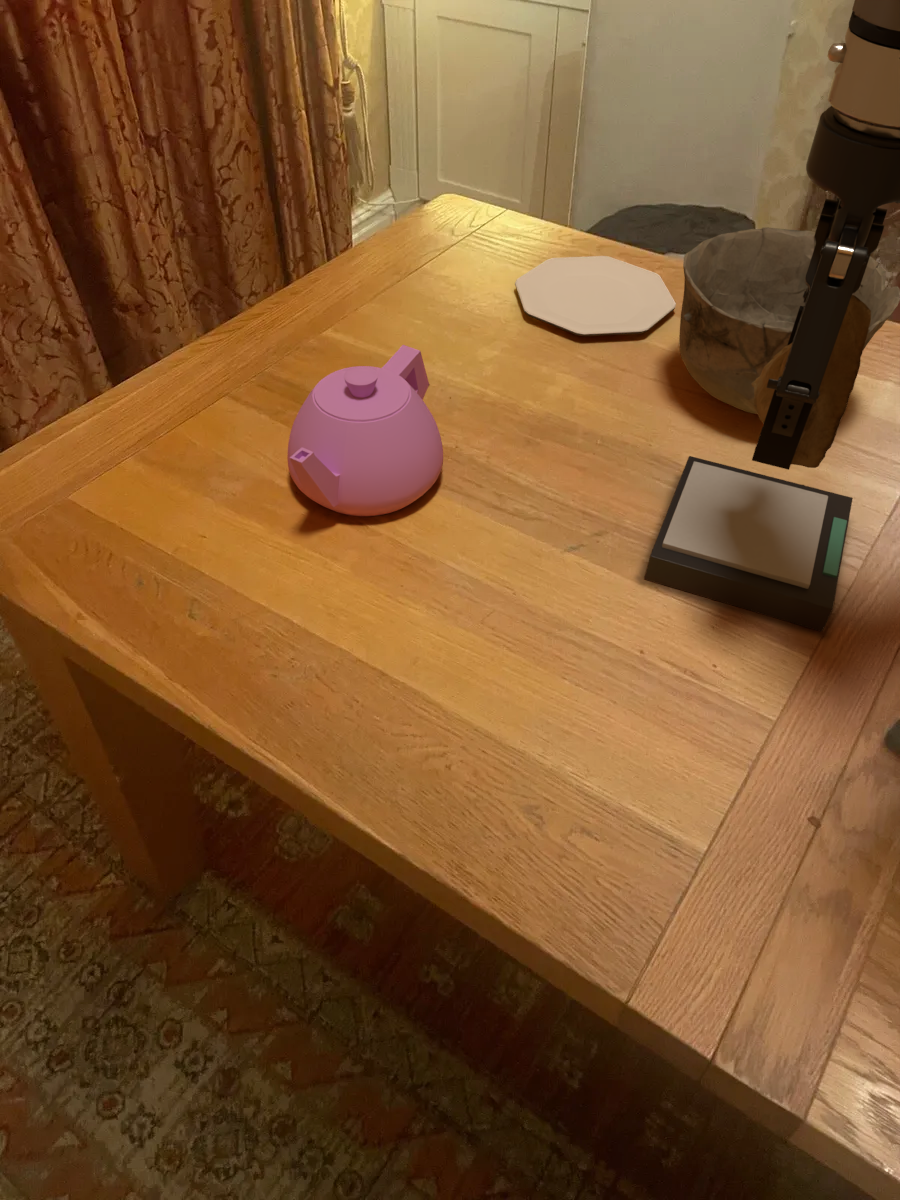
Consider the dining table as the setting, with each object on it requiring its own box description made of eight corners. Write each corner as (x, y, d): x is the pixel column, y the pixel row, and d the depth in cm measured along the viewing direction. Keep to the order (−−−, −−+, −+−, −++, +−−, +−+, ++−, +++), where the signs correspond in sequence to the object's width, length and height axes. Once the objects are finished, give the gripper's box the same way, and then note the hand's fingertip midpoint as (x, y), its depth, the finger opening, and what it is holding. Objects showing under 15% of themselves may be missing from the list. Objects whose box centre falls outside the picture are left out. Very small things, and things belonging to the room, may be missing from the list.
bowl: (792, 482, 94) (841, 354, 83) (619, 398, 103) (641, 274, 92) (884, 394, 105) (937, 271, 94) (719, 326, 115) (750, 207, 104)
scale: (842, 520, 90) (855, 492, 87) (821, 632, 79) (835, 604, 77) (683, 478, 94) (690, 450, 91) (644, 579, 84) (651, 551, 81)
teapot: (359, 400, 102) (352, 301, 93) (482, 441, 97) (487, 341, 89) (239, 513, 89) (219, 410, 80) (375, 567, 84) (369, 464, 75)
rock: (862, 467, 63) (906, 385, 68) (815, 365, 60) (864, 287, 65) (727, 488, 72) (775, 413, 77) (679, 399, 68) (732, 327, 73)
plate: (696, 298, 120) (698, 287, 118) (619, 360, 109) (621, 349, 108) (570, 253, 128) (571, 242, 127) (487, 307, 117) (488, 296, 116)
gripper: (843, 52, 62) (758, 339, 79) (797, 175, 48) (704, 496, 64) (959, 68, 61) (847, 358, 77) (947, 200, 46) (812, 525, 62)
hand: (782, 421), depth 70 cm, fingers closed on rock, 10 cm apart
